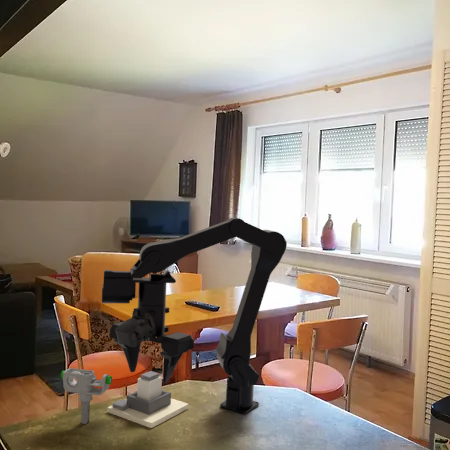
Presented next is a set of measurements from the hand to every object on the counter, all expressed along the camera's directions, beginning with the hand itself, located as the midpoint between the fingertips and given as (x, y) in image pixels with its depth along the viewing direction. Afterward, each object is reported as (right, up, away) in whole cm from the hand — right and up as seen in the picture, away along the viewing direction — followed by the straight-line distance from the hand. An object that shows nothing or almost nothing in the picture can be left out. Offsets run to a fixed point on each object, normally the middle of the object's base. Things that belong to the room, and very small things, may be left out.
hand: (149, 376), depth 107 cm
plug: (0, -6, 0) cm, 6 cm away
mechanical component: (-12, -7, -6) cm, 15 cm away
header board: (0, -7, 0) cm, 7 cm away
